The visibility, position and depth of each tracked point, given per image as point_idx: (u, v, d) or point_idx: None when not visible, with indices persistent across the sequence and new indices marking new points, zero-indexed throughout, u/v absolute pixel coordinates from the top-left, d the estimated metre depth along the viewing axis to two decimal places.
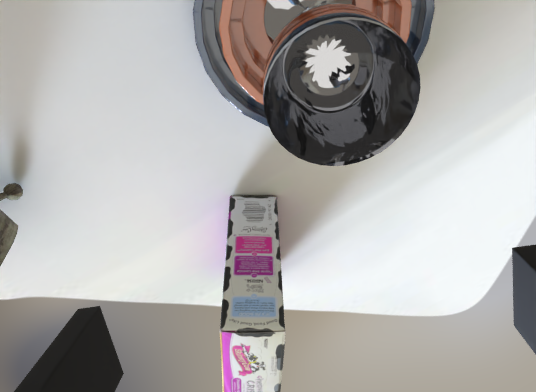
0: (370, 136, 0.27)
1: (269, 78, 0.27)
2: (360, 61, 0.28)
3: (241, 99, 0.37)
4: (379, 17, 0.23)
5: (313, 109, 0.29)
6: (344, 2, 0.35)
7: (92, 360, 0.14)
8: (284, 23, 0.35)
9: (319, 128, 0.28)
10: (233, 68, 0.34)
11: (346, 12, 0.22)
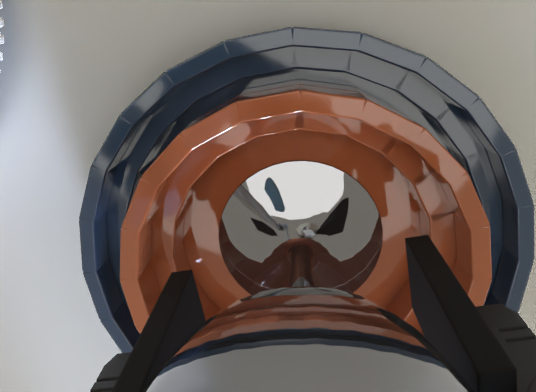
0: None
1: None
2: None
3: None
4: (268, 360, 0.07)
5: None
6: (329, 187, 0.19)
7: (191, 317, 0.15)
8: (269, 275, 0.20)
9: None
10: None
11: None
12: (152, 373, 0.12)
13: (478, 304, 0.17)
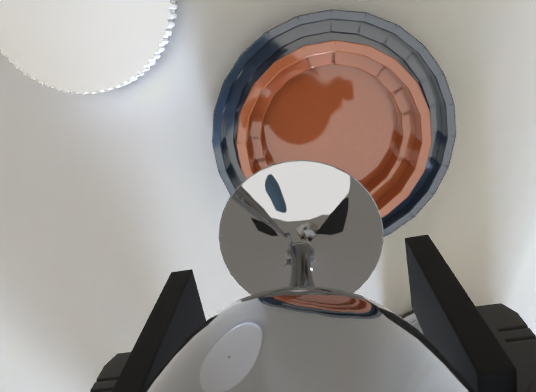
0: None
1: None
2: None
3: None
4: (270, 360, 0.07)
5: None
6: (330, 187, 0.19)
7: (190, 317, 0.15)
8: (269, 275, 0.20)
9: None
10: None
11: None
12: (152, 373, 0.12)
13: (425, 156, 0.32)
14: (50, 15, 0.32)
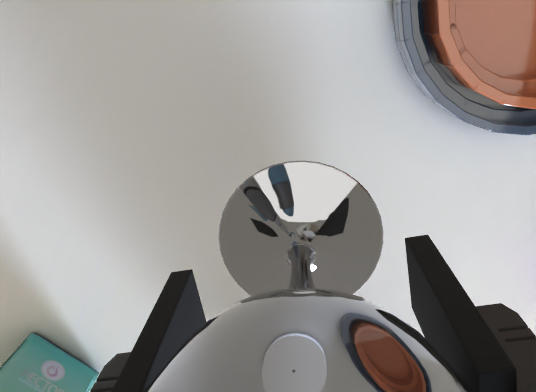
0: None
1: None
2: None
3: (513, 123, 0.31)
4: (269, 362, 0.07)
5: None
6: (329, 188, 0.19)
7: (191, 317, 0.15)
8: (269, 276, 0.20)
9: None
10: (491, 94, 0.29)
11: None
12: (152, 373, 0.12)
13: None
14: None
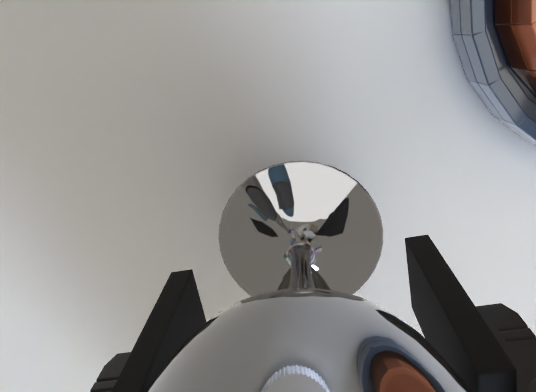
0: None
1: None
2: None
3: None
4: (269, 363, 0.07)
5: None
6: (329, 188, 0.19)
7: (191, 317, 0.15)
8: (269, 276, 0.20)
9: None
10: None
11: None
12: (152, 373, 0.12)
13: None
14: None
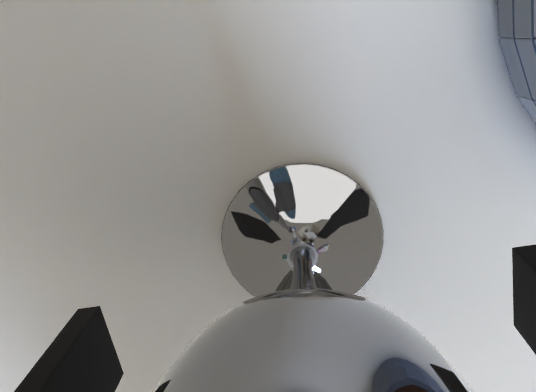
0: None
1: None
2: None
3: None
4: (276, 359, 0.07)
5: None
6: (331, 190, 0.19)
7: (92, 360, 0.14)
8: (271, 276, 0.21)
9: None
10: None
11: None
12: None
13: None
14: None
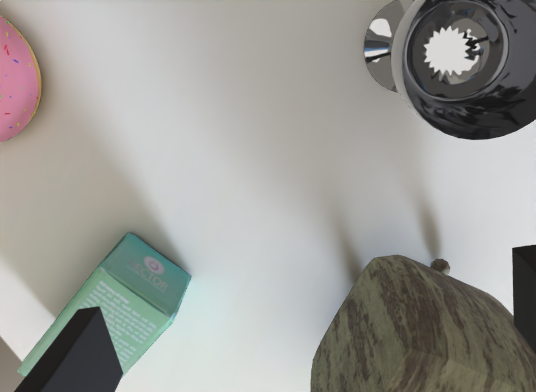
0: None
1: (408, 98, 0.26)
2: (482, 28, 0.27)
3: None
4: None
5: (469, 100, 0.27)
6: None
7: (92, 360, 0.14)
8: None
9: (488, 109, 0.26)
10: None
11: None
12: None
13: None
14: None
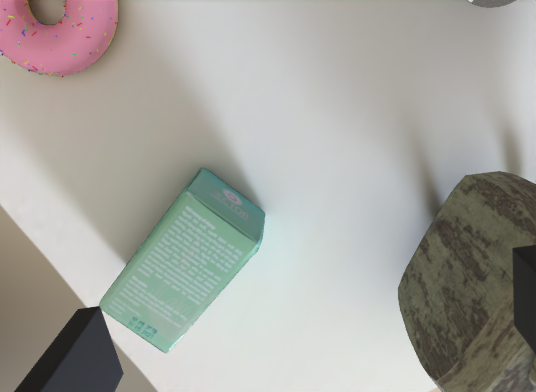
0: None
1: None
2: None
3: None
4: None
5: None
6: None
7: (92, 360, 0.14)
8: None
9: None
10: None
11: None
12: None
13: None
14: None
